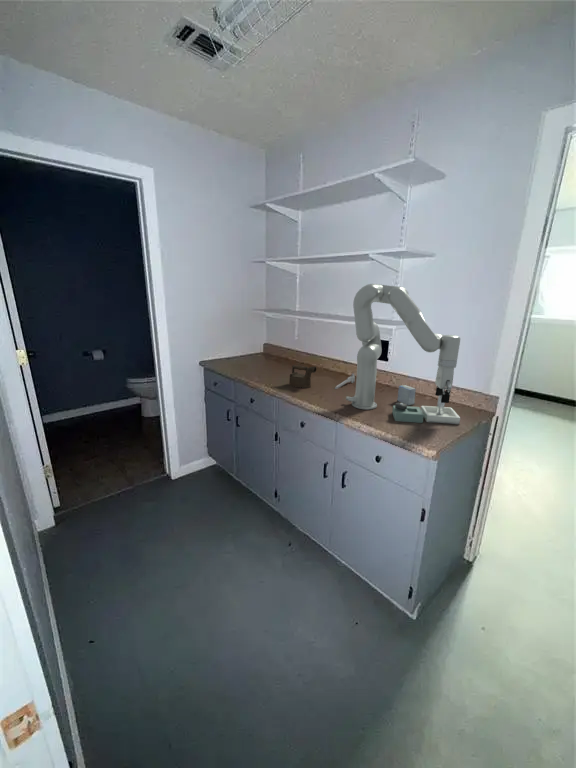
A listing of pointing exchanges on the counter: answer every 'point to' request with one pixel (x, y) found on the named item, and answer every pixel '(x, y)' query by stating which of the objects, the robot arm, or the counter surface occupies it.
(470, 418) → the counter surface
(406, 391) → the medicine box
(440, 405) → the pin
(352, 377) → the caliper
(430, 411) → the tray
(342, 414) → the counter surface
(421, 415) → the green slotted box
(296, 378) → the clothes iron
